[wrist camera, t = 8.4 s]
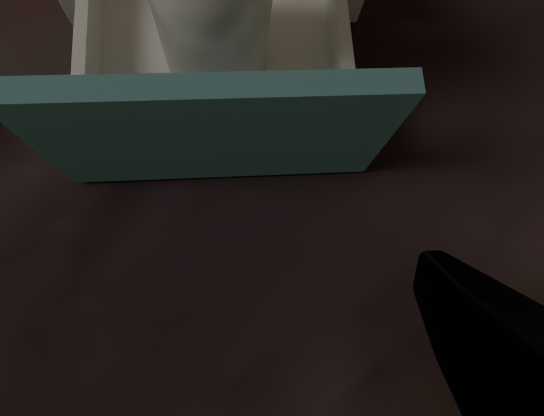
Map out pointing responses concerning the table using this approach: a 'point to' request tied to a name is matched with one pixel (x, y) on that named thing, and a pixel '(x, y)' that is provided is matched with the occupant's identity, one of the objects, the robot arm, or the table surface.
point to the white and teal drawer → (209, 101)
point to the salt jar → (213, 34)
